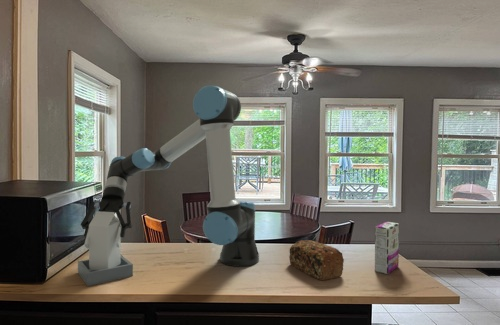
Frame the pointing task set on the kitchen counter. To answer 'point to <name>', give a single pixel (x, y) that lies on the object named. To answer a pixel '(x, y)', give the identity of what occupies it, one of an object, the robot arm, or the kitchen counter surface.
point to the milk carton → (104, 241)
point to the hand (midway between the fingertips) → (102, 245)
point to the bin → (104, 272)
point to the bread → (316, 259)
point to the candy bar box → (386, 247)
